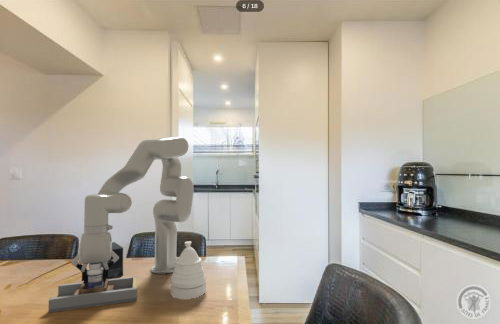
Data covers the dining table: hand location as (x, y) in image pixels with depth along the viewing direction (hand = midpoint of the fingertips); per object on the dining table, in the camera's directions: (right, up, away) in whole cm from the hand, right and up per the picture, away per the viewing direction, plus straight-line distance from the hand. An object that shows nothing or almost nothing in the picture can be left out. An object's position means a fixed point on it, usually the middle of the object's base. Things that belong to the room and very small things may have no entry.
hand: (95, 280), depth 104 cm
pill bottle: (0, -4, 0) cm, 4 cm away
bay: (+1, -6, 0) cm, 6 cm away
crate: (0, -5, 0) cm, 5 cm away
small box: (-7, -7, +25) cm, 27 cm away
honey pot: (+31, -7, +6) cm, 33 cm away
